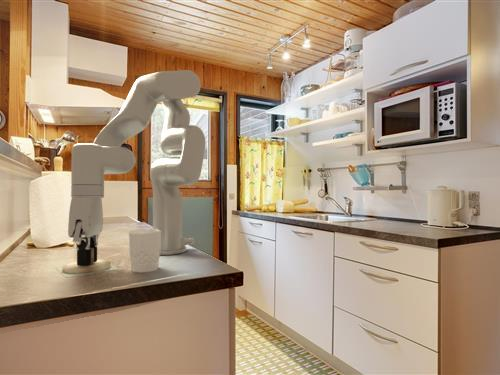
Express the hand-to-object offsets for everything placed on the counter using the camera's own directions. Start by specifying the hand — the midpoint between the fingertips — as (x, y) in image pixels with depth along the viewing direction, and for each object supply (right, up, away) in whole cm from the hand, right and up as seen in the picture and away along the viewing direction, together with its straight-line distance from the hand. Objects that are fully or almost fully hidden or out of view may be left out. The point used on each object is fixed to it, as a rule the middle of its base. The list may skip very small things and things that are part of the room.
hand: (87, 262), depth 80 cm
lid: (0, -1, 0) cm, 1 cm away
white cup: (+15, -2, 0) cm, 15 cm away
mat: (0, -2, 0) cm, 2 cm away
